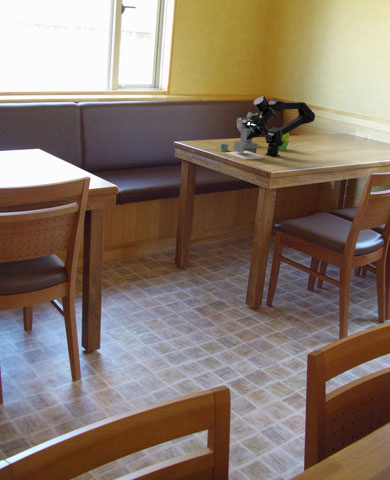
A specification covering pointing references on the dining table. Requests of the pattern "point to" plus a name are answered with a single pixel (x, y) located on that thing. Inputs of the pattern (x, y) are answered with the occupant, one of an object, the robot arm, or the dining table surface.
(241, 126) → the wine glass
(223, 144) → the block
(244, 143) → the cover
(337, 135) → the dining table surface
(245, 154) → the board
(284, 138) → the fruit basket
